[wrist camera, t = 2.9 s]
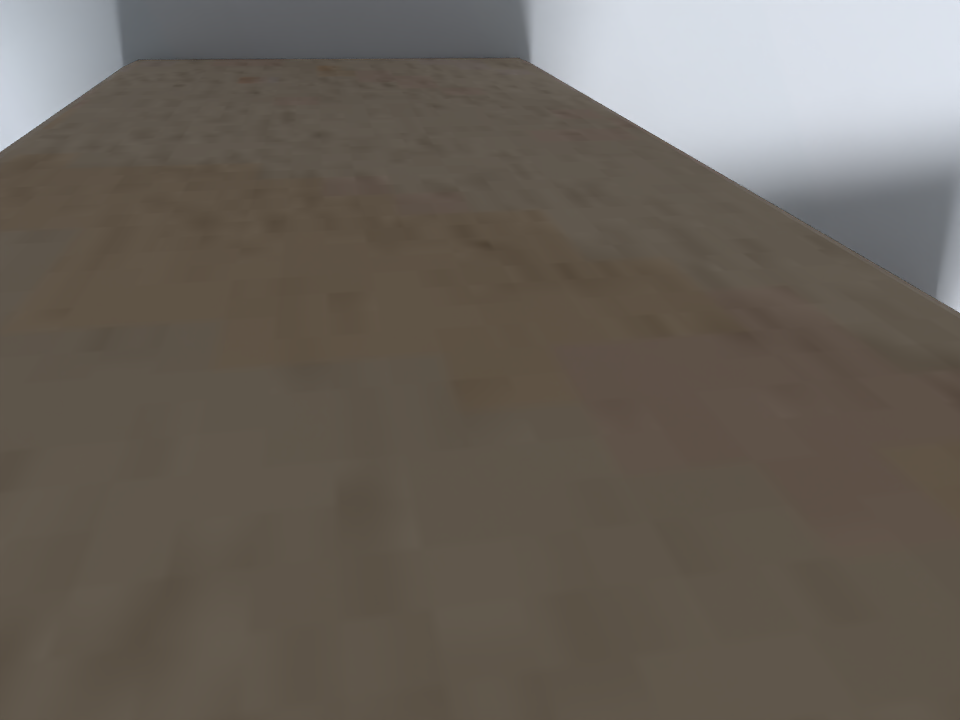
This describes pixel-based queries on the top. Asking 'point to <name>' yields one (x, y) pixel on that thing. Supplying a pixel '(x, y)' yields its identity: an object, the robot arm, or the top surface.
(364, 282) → the wooden block
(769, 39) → the top surface
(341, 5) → the top surface
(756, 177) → the top surface
